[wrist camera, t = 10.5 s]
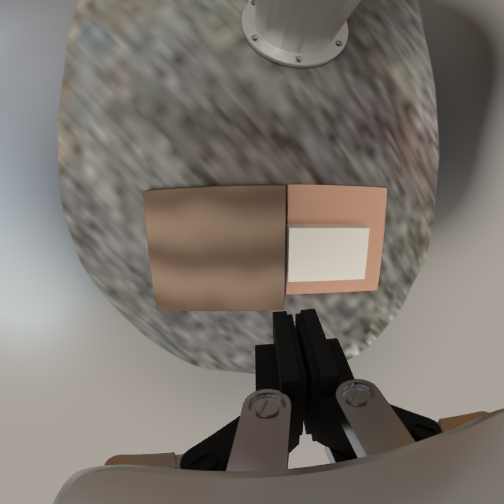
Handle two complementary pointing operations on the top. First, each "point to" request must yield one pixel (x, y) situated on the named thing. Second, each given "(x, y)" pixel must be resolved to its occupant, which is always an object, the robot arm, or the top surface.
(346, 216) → the mat
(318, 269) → the tile
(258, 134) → the top surface
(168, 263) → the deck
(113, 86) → the top surface
